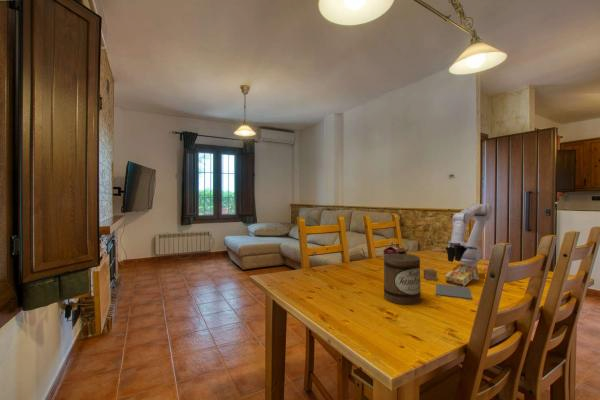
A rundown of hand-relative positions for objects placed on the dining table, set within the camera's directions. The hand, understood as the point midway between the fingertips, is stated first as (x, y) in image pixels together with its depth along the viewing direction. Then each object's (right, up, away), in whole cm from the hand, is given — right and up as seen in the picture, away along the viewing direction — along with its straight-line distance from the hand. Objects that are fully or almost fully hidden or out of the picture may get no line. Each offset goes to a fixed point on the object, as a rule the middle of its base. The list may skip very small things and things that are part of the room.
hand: (453, 261), depth 140 cm
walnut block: (-8, -12, +9) cm, 17 cm away
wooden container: (-33, -12, -19) cm, 40 cm away
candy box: (-1, -10, -2) cm, 10 cm away
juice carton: (-33, -12, -5) cm, 35 cm away
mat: (-7, -12, -12) cm, 18 cm away
